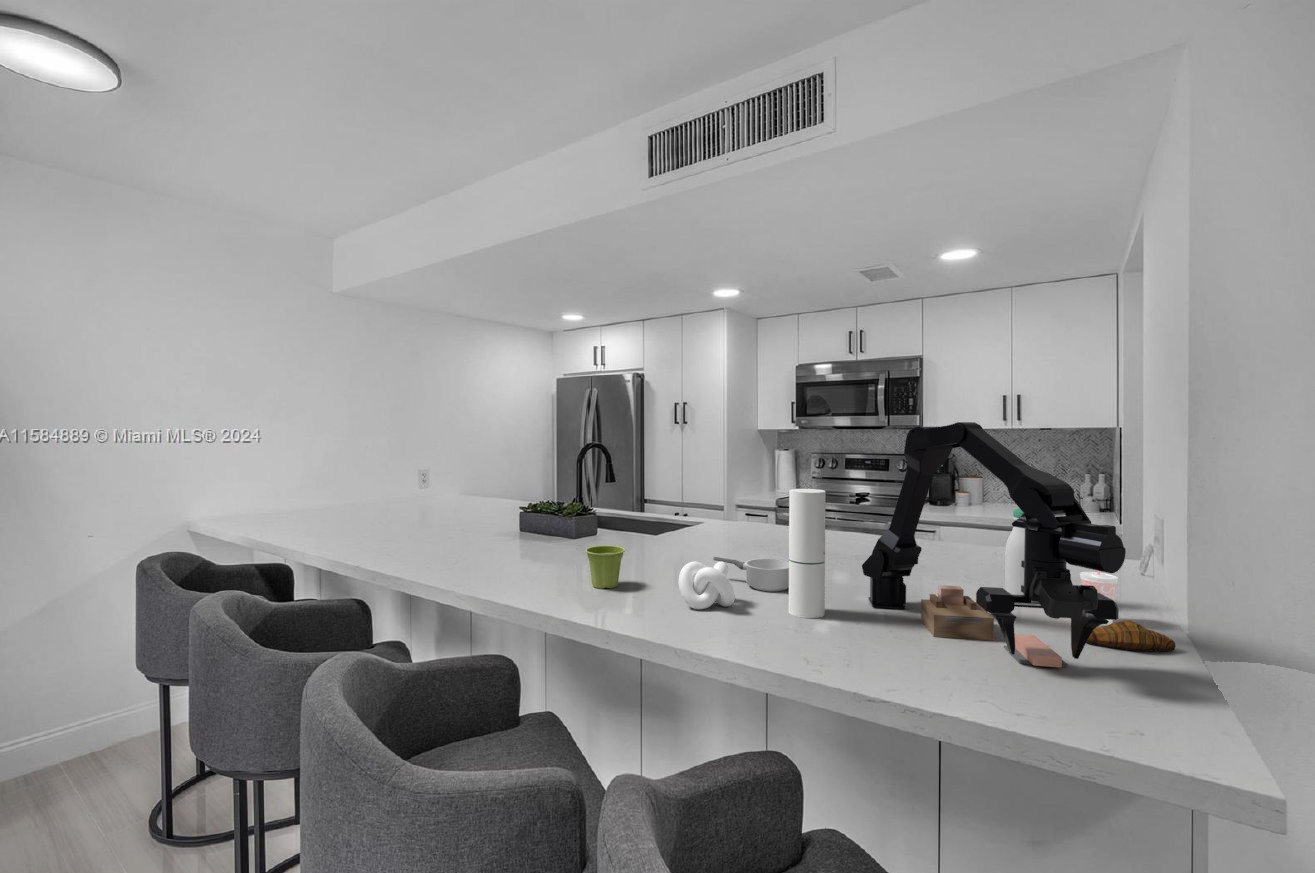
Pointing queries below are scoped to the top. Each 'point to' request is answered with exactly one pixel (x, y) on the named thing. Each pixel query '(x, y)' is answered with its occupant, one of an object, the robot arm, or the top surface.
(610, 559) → the plant pot
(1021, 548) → the milk bottle
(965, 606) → the dispenser
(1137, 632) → the croissant
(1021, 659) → the pad
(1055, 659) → the salmon pink rectangular block
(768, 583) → the saucepan
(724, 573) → the white decorative knot
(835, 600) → the top surface
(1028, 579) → the robot arm
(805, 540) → the cylindrical container
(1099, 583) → the beverage cup
